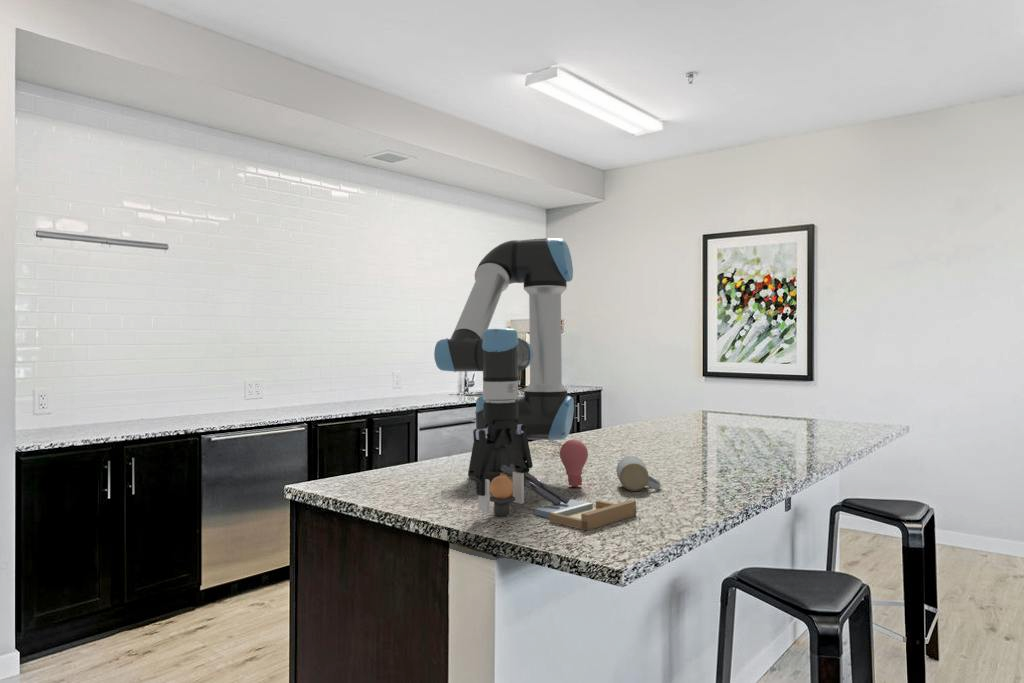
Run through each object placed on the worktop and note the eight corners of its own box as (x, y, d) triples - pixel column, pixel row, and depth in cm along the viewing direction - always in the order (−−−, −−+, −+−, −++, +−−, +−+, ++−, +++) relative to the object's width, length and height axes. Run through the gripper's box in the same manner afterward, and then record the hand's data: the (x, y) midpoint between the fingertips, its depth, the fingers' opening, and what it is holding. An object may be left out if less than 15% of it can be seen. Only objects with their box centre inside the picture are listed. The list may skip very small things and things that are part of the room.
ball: (485, 499, 144) (484, 475, 144) (502, 495, 147) (501, 472, 147) (501, 503, 140) (501, 479, 140) (518, 499, 144) (518, 475, 144)
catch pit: (549, 521, 138) (549, 506, 138) (598, 507, 149) (598, 494, 149) (587, 530, 131) (587, 515, 131) (636, 515, 142) (636, 501, 142)
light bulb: (555, 488, 170) (555, 440, 170) (566, 483, 176) (566, 437, 176) (582, 491, 166) (581, 442, 166) (592, 485, 172) (591, 438, 173)
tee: (488, 514, 144) (488, 497, 144) (502, 511, 146) (501, 494, 146) (501, 518, 141) (501, 500, 141) (515, 514, 144) (514, 496, 144)
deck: (535, 514, 144) (534, 508, 144) (571, 504, 152) (571, 499, 152) (556, 519, 139) (556, 513, 139) (592, 509, 148) (592, 503, 148)
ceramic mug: (619, 492, 165) (619, 460, 165) (616, 485, 173) (616, 455, 173) (663, 493, 164) (663, 461, 164) (657, 486, 172) (658, 455, 172)
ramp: (500, 500, 157) (499, 465, 157) (513, 497, 160) (513, 462, 160) (556, 513, 144) (556, 474, 144) (570, 509, 147) (569, 472, 147)
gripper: (473, 405, 133) (474, 519, 133) (548, 398, 149) (549, 500, 149) (449, 403, 139) (450, 512, 139) (524, 397, 154) (525, 495, 154)
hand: (501, 506), depth 144 cm, fingers open, 9 cm apart
